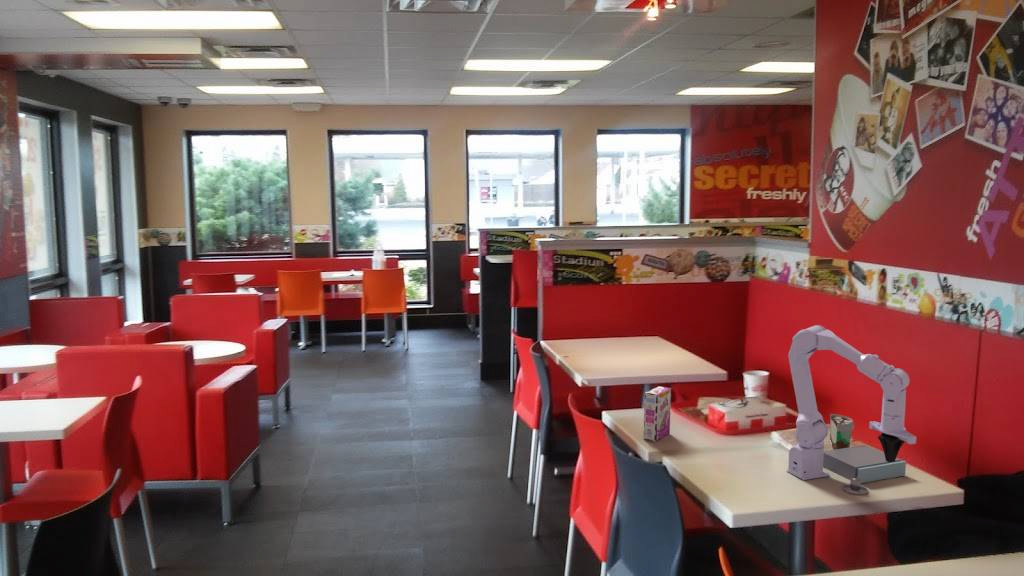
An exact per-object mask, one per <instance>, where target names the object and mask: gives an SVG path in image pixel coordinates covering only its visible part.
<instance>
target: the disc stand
mask: <svg viewBox="0 0 1024 576" xmlns="http://www.w3.org/2000/svg"><path fill="white" fill-rule="evenodd" d="M861 484H862V483H861V479H860V478H858V477H851V480H850V483H848V484H845V485H844V484H843V486H842V491H844V492H845V493H847V492H848V493H847V494H850V493H851V494H850V495H854V494H864V495H867V494H868V493H869V491H868V488H867V487H865V486H863V485H861ZM867 492H868V493H867ZM866 493H867V494H866Z"/></svg>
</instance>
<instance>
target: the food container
mask: <svg viewBox="0 0 1024 576" xmlns="http://www.w3.org/2000/svg"><path fill="white" fill-rule="evenodd" d="M829 420H830V426H829V427H830V428H829V441H830V440H831V442H832V447H831V450H836V449H842V448H849V447H851V440H852V439H851V438H852V431H853V430H855V423H854V421H853V419H852V418H850V417H849V416H845V415H841V414H836V413H830V418H829Z"/></svg>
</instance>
